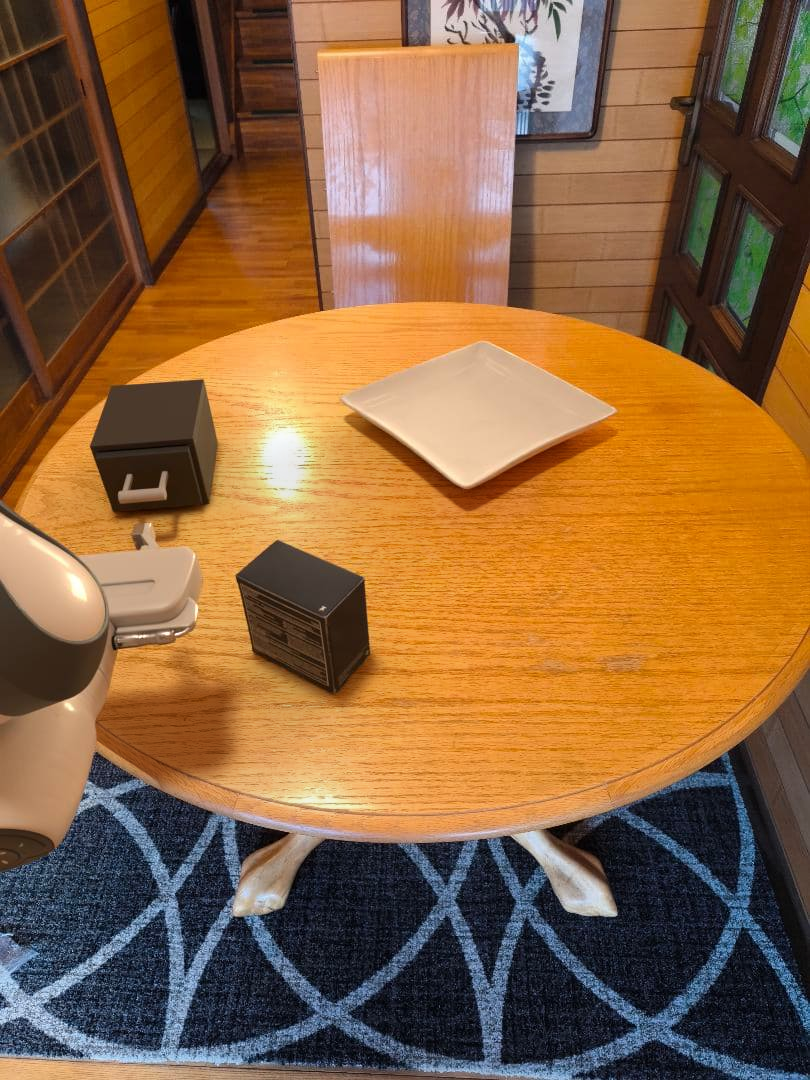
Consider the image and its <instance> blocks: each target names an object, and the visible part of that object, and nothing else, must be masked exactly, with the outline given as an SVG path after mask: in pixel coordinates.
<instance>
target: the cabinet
mask: <svg viewBox="0 0 810 1080" xmlns="http://www.w3.org/2000/svg"><path fill="white" fill-rule="evenodd" d="M215 428H216V427H215V424H214V419H213V415H212V410H211V406H210V401H209V396H208V391H207V387H206V382H205V379H204V378H202V379H201V378H200V379H188V380H174V381H173V380H172V381H158V382H146V383H145V382H144V383H134V384H133V383H131V384H118V385H111V386H110V389H109V391H108V394H107V397H106V400H105V403H104V405H103V408H102V411H101V413H100V417H99V419H98V422H97V425H96V428H95V430H94V433H93V436H92V438H91V441H90V445H89V448H90V451H91V454H92V457H93V460H94V462H95V466H96V468H97V470H98V473H99V476H100V479H101V482H102V485H103V487H104V490H105V493H106V497H107V499H108V501H109V505H110V508H111V510H112V512H114V510H113V507H112V504H111V501H110V498H109V496H108V493H107V490H106V487H105V484H104V482H103V479H102V476H101V473H100V470H99V468H98V465H97V462H96V459H95V458H96V455H97V453H100V452H108V451H109V450H122V449H135V448H148V447H161V446H173V445H186V444H188V446H190V450H191V454H192V458H193V462H194V466H195V470H196V474H197V478H198V482H199V486H200V490H201V494H202V498H203V500H202V504H201V505H208V504H210V500H211V494H212V493H211V492H212V487H213V486H212V484H213V478H214V471H215V464H216V463H215V462H216V456H217V448H218V437H217V433H216V432H217V431H216V429H215Z"/></svg>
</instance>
